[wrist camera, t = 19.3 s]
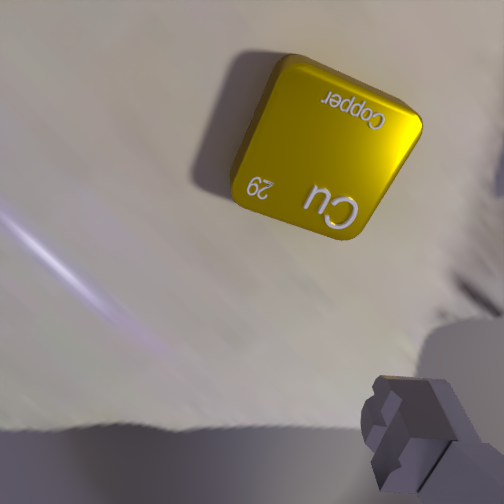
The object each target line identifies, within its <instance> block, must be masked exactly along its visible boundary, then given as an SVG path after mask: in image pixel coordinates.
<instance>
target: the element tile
mask: <svg viewBox="0 0 504 504" xmlns="http://www.w3.org/2000/svg"><path fill="white" fill-rule="evenodd" d="M422 129H423V123H422V118H421V117H420V116H419V115H418V113H417V112H416V111H414V110H413V109H412V108H411V107H409V106H408V105H407V104H406V103H405V102H403V101H402V100H400V99H399V98H396V97H394V96H392V95H390V94H387V93H385V92H383V91H381V90H379V89H376V88H374V87H372V86H370V85H368V84H365V83H363V82H361V81H359V80H357V79H354V78H352V77H350V76H348V75H346V74H343V73H341V72H339V71H337V70H334V69H332V68H330V67H328V66H326V65H323V64H321V63H319V62H317V61H315V60H312V59H310V58H308V57H306V56H303V55H299V54H289V55H287V56H285V57H283V58H282V59H281V60H280V61H279V62H278V63H277V64H276V65H275V67H274V69H273V71H272V73H271V75H270V78H269V80H268V82H267V85H266V87H265V90H264V92H263V94H262V97H261V99H260V101H259V104H258V106H257V108H256V111H255V113H254V116H253V118H252V120H251V123H250V125H249V127H248V130H247V132H246V134H245V137H244V139H243V142H242V144H241V146H240V149H239V151H238V153H237V156H236V158H235V160H234V163H233V165H232V168H231V170H230V185H231V195H232V198H233V200H234V201H235V202H236V203H237V204H238V205H239V206H241V207H243V208H245V209H248V210H251V211H254V212H257V213H260V214H262V215H265V216H268V217H271V218H274V219H277V220H280V221H283V222H286V223H289V224H292V225H295V226H298V227H301V228H303V229H306V230H309V231H312V232H315V233H318V234H321V235H324V236H327V237H330V238H333V239H336V240H341V241H342V240H350V239H353V238H355V237H356V236H357V235H359V234H360V233H361V232H362V230H363V229H364V227H365V226H366V224H367V222H368V221H369V219H370V218H371V216H372V214H373V213H374V211H375V210H376V208H377V206H378V205H379V203H380V202H381V200H382V198H383V197H384V195H385V194H386V192H387V190H388V189H389V187H390V185H391V184H392V182H393V181H394V179H395V177H396V176H397V174H398V173H399V171H400V169H401V168H402V166H403V165H404V163H405V161H406V160H407V158H408V157H409V155H410V153H411V152H412V150H413V149H414V147H415V145H416V144H417V142H418V140H419V139H420V136H421V134H422Z"/></svg>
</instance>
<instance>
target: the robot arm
mask: <svg viewBox="0 0 504 504" xmlns="http://www.w3.org/2000/svg"><path fill="white" fill-rule="evenodd" d="M372 388H373V391H374V394H375V395H373V396H372V397H370V398H369V399H367V400H366V401H365V403H364V406H363V408H362V411H361V431H362V436H363V439H364V442H365V444H366V445H367V446H368V447H369V448H370V449H371V450H372V451H373V452H374V455H373V458H372V460H371V465H372V468H373V472H374V475H375V478H376V481H377V484H378V487H379V490H380V492H394V493H411V494H418V495H417V496H418V498H419V499H420V500H421V501H422V503H423V504H504V455H503V454H501V453H500V452H499V451H498V450H497V449H495V448H494V447H493V446H492V445H490V444H489V443H482V441H481V439H480V438H479V436H478V434H477V432H476V430H475V429H474V427H473V425H472V423H471V421H470V419H469V417H468V416H467V414H466V412H465V410H464V408H463V406H462V405H461V403H460V401H459V399H458V397H457V396H456V394H455V392H454V390H453V388H452V387H451V385H450V383H448V382H447V381H446V380H445V379H432V378H419V377H403V376H387V375H380V376H379V377H378V378H376V380H375V382H374V384H373V386H372Z"/></svg>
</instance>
